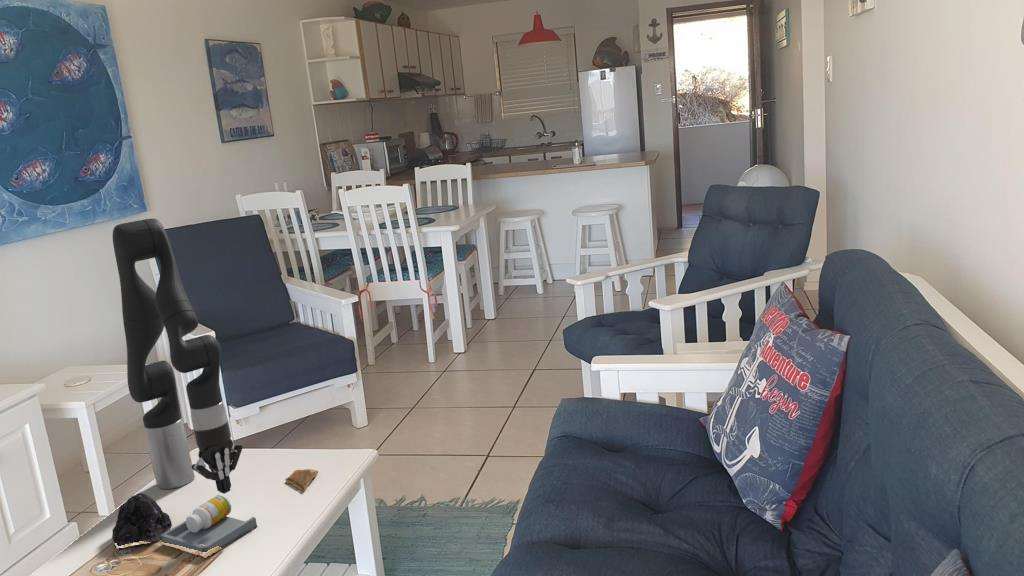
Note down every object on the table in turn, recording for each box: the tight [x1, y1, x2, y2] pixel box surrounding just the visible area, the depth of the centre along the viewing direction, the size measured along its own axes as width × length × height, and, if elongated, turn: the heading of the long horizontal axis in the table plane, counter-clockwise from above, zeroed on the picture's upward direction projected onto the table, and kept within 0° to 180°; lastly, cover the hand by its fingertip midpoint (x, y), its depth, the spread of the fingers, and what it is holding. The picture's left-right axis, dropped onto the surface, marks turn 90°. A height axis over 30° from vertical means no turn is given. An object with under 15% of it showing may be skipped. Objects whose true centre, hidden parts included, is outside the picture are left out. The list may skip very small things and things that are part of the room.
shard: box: [285, 468, 319, 492], centre depth 202 cm, size 11×8×2 cm
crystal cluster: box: [111, 492, 173, 546], centre depth 183 cm, size 13×14×10 cm
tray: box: [160, 515, 258, 552], centre depth 180 cm, size 16×14×2 cm
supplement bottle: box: [185, 494, 232, 532], centre depth 184 cm, size 5×5×10 cm
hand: (225, 491), depth 183 cm, fingers closed
